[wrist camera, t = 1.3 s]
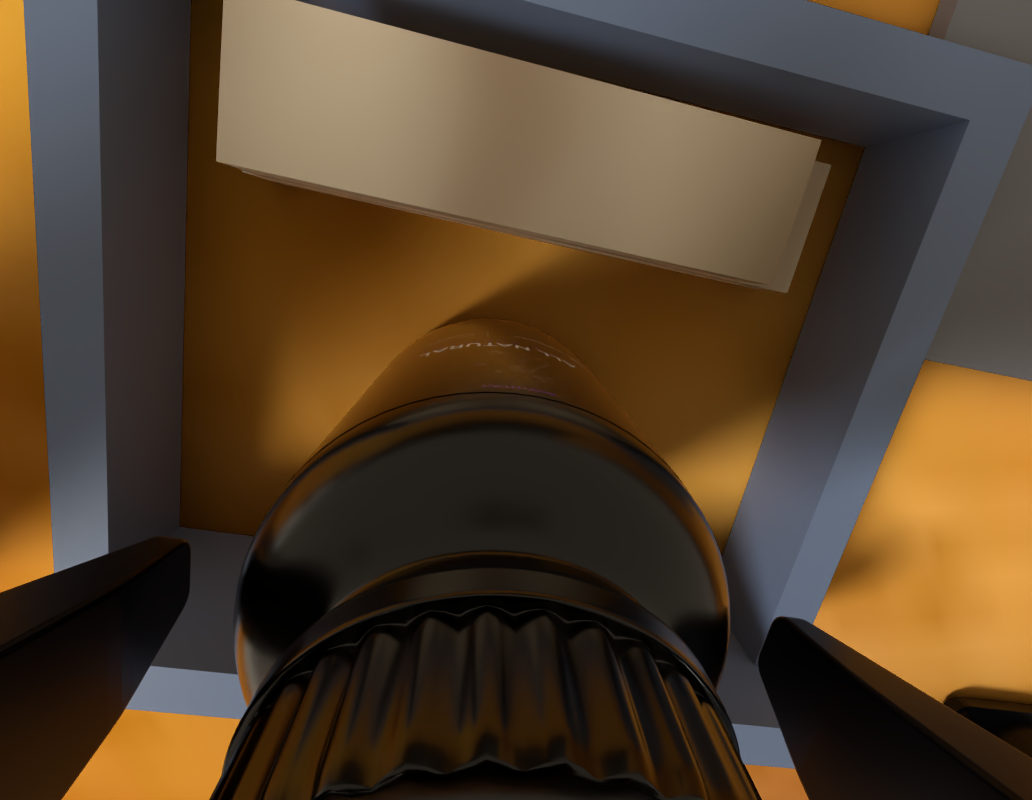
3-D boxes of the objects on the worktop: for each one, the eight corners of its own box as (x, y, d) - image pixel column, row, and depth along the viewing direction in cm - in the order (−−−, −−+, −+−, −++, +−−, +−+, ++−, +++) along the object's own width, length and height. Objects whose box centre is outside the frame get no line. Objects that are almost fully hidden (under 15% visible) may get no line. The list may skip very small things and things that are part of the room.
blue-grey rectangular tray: (924, 108, 13) (1175, 28, 8) (730, 629, 18) (823, 770, 13) (134, -103, 11) (-135, -377, 6) (136, 556, 15) (-20, 696, 11)
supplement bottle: (529, 266, 14) (782, 357, 2) (639, 465, 16) (1082, 1064, 4) (317, 393, 14) (-334, 980, 3) (448, 570, 16) (374, 1347, 5)
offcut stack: (782, 176, 14) (899, 148, 10) (746, 287, 15) (842, 301, 11) (286, 51, 12) (199, -40, 8) (276, 183, 13) (192, 156, 9)
